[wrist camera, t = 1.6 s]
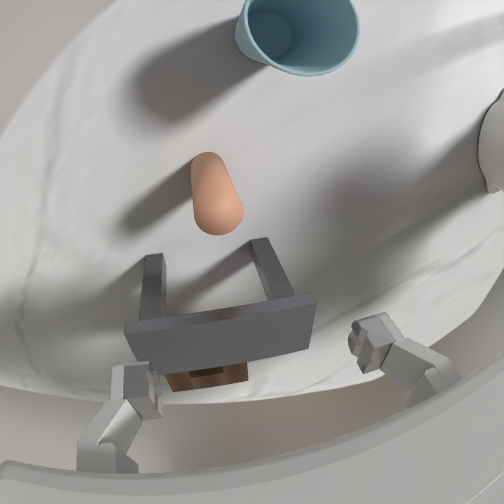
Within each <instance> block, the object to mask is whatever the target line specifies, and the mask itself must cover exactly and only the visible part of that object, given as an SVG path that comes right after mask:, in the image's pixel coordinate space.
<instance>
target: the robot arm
mask: <svg viewBox="0 0 504 504" xmlns="http://www.w3.org/2000/svg"><path fill="white" fill-rule="evenodd" d="M478 157H479V165H480V168H481V171H482V173H483V175H484V177H485V179H486V187H487V191H488V192H490V193H492V194H494V193H496V192H499V191H501V190H502V191H503V192H504V91H503V92H502V94H501V97H500V99H499V100H498V101H497V102H495V103H494V104H493V105H492V106H491V108H490V109H489V111H488V112H487V114H486V116H485V119H484V121H483V124H482V128H481V132H480V137H479V146H478ZM351 327H352V329H353V331H352V332H351V333H350V334H349V337H348V345H349V348H350V351H351V353H352V354H353V355H354V356H356V357H358V359H357V364H358V366H359V367H360V369H361V371H362V373H363V374H365V373H368V372H371V371H374V370H377V369H380V370H381V371H383V372H384V373H385V374H387V375H388V376H390V377H391V378H393V379H394V380H395V381H397V382H398V383H400V384H401V385H403V386H404V387H406V388H407V389H408V390H410V391H411V392H410V393H409V394H408V396H407V397H406V399H405V403H406V405H407V407H408V409H407V410H405V411H403V412H401V413H399V414H396V415H394V416H392V417H390V418H387V419H385V420H383V421H380V422H378V423H376V424H373V425H371V426H368V427H366V428H363V429H361V430H358V431H355V432H353V433H350V434H347V435H345V436H342V437H339V438H336V439H333V440H330V441H327V442H324V443H321V444H318V445H314V446H311V447H308V448H304V449H301V450H297V451H293V452H290V453H286V454H282V455H278V456H273V457H270V458H265V459H260V460H255V461H250V462H245V463H240V464H234V465H228V466H222V467H215V468H207V469H199V470H189V471H179V472H165V473H139V470H138V464H137V463H136V462H135V461H134V460H132V459H131V458H129V457H128V456H127V455H126V454H127V452H128V450H129V448H130V446H131V444H132V442H133V440H134V438H135V436H136V434H137V432H138V430H139V428H140V426H141V424H142V422H143V420H145V419H155V418H163V410H162V402H161V401H160V399H159V397H160V395H161V385H160V380H159V376H158V374H157V372H156V371H154V370H153V364H152V362H151V361H142V362H130V363H117V364H113V367H112V374H111V388H110V400H106V401H105V403H104V404H103V406H102V407H101V408H100V410H99V411H98V413H97V414H96V416H95V417H94V418H93V420H92V421H91V422H90V424H89V425H88V427H87V428H86V430H85V431H84V432H83V434H82V435H81V437H80V438H79V440H78V441H77V469H76V471H73V470H64V469H56V468H49V467H43V466H36V465H31V464H26V463H21V462H17V461H11V460H6V461H4V462H3V463H2V464H1V465H0V504H504V352H502V353H501V354H499V355H498V356H497V357H495V358H494V359H492V360H491V361H490V362H488V363H487V364H485V365H484V366H482V367H481V368H479V369H478V370H476V371H475V372H473V373H472V374H470V375H468V376H467V377H465V378H464V379H462V377H461V376H460V374H459V373H458V371H457V370H456V368H455V367H454V365H453V364H452V363H451V361H450V360H449V359H448V358H447V357H445V356H443V355H441V354H439V353H437V352H435V351H433V350H431V349H429V348H427V347H425V346H423V345H421V344H419V343H417V342H415V341H413V340H412V339H410V338H404V336H403V335H402V333H401V332H400V330H399V329H398V328H397V326H396V325H395V323H394V322H393V321H392V319H391V318H390V316H389V315H388V314H387V313H385V312H383V313H380V314H377V315H372V316H369V317H366V318H362V319H359V320H356V321H354V322H353V323H352V326H351Z"/></svg>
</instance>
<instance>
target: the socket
mask: <svg viewBox="0 0 504 504" xmlns="http://www.w3.org/2000/svg"><path fill="white" fill-rule="evenodd" d="M164 375H165V377H166V379H167V381H168V383H169V385H170V387H171V389H172V391H173V392H177V391H185V390H193V389H201V388H208V387H214V386H221V385H227V384H232V383H238V382H244V381H248V369H247V362H243V363H238V364H232V365H226V366H220V367H214V368H207V369H201V370H194V371H186V372H178V373H170V374H164Z"/></svg>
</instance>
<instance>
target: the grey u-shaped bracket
mask: <svg viewBox="0 0 504 504" xmlns="http://www.w3.org/2000/svg"><path fill="white" fill-rule="evenodd" d="M250 241H251V256H252V258H253V261H254V264H255V266H256V269H257V272H258V274H259V277H260V280H261V282H262V285H263V288H264V290H265V293H266V296H267V298H268V301H265V302H260V303H254V304H248V305H242V306H236V307H230V308H224V309H218V310H212V311H205V312H199V313H192V314H185V315H178V316H171V317H166V264H165V260H164V256H163V253H159V254H153V255H146V258H145V267H144V275H143V284H142V294H141V305H140V318H139V321H133V322H125V327H124V335H125V337H126V339H127V341H128V343H129V345H130V347H131V349H132V351H133V353H134V355H135V357H136V359H137V361H138V362H142V361H151V362H152V364H153V370H154V371H156V372H157V374H158V375H161V374H170V373H178V372H186V371H194V370H201V369H207V368H214V367H220V366H226V365H232V364H238V363H243V362H249V361H254V360H259V359H264V358H269V357H274V356H279V355H283V354H288V353H292V352H297V351H301V350H305V349H309V343H310V338H311V332H312V326H313V320H314V314H315V307H316V302H315V300H314V298H313V296H312V294H311V293H308V294H303V295H297V296H296V295H295V293H294V291H293V289H292V287H291V285H290V283H289V281H288V279H287V276H286V274H285V272H284V270H283V268H282V266H281V264H280V262H279V260H278V258H277V256H276V254H275V252H274V250H273V248H272V246H271V243H270V241H269V239H268V237H267V238H260V239H253V240H250Z"/></svg>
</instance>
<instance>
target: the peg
mask: <svg viewBox="0 0 504 504" xmlns="http://www.w3.org/2000/svg"><path fill="white" fill-rule="evenodd" d="M190 176H191V187H192V197H193V207H194V217H195V221H196V223H197V225H198V227H199V228H200V229H201V230H202V231H204V232H206V233H208V234H211V235H223V234H227V233H229V232H231V231H233V230H234V229H235V228H236V227H237V226H238V225H239V224H240V222H241V220H242V218H243V206H242V203H241V201H240V199H239V196H238V194H237V192H236V190H235V187H234V185H233V183H232V180H231V178H230V176H229V174H228V171H227V169H226V167H225V165H224V162H223V160H222V159H221V157H220V156H218V155H217V154H215V153H212V152H204V153H201V154H199V155H197V156H196V157H195V158H194V159H193V160H192V162H191V165H190Z"/></svg>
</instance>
